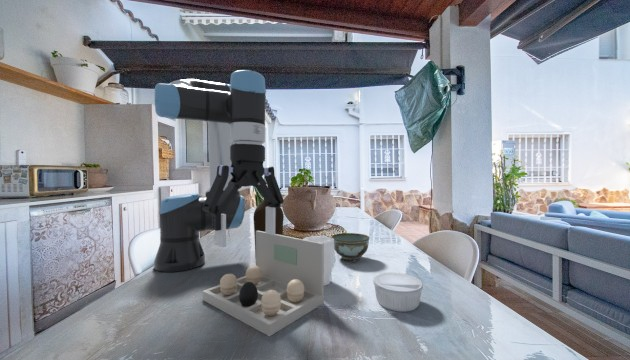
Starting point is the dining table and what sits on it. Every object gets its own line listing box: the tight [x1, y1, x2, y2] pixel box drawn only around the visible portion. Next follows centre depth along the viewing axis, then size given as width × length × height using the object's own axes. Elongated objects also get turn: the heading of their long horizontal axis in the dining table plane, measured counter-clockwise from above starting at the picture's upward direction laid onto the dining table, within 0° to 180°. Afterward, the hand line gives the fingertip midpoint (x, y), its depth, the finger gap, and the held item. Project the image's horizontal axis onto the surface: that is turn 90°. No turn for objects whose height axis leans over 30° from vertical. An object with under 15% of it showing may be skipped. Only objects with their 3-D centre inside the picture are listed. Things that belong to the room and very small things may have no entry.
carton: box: [202, 231, 325, 337], centre depth 64 cm, size 24×17×14 cm
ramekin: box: [372, 271, 424, 313], centre depth 64 cm, size 11×11×5 cm
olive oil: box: [252, 199, 284, 260], centre depth 97 cm, size 11×11×25 cm
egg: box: [239, 282, 258, 307], centre depth 61 cm, size 4×4×5 cm
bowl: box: [331, 232, 370, 262], centre depth 97 cm, size 14×13×8 cm
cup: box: [302, 235, 335, 287], centre depth 76 cm, size 9×9×12 cm
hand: (247, 239), depth 61 cm, fingers open, 13 cm apart
